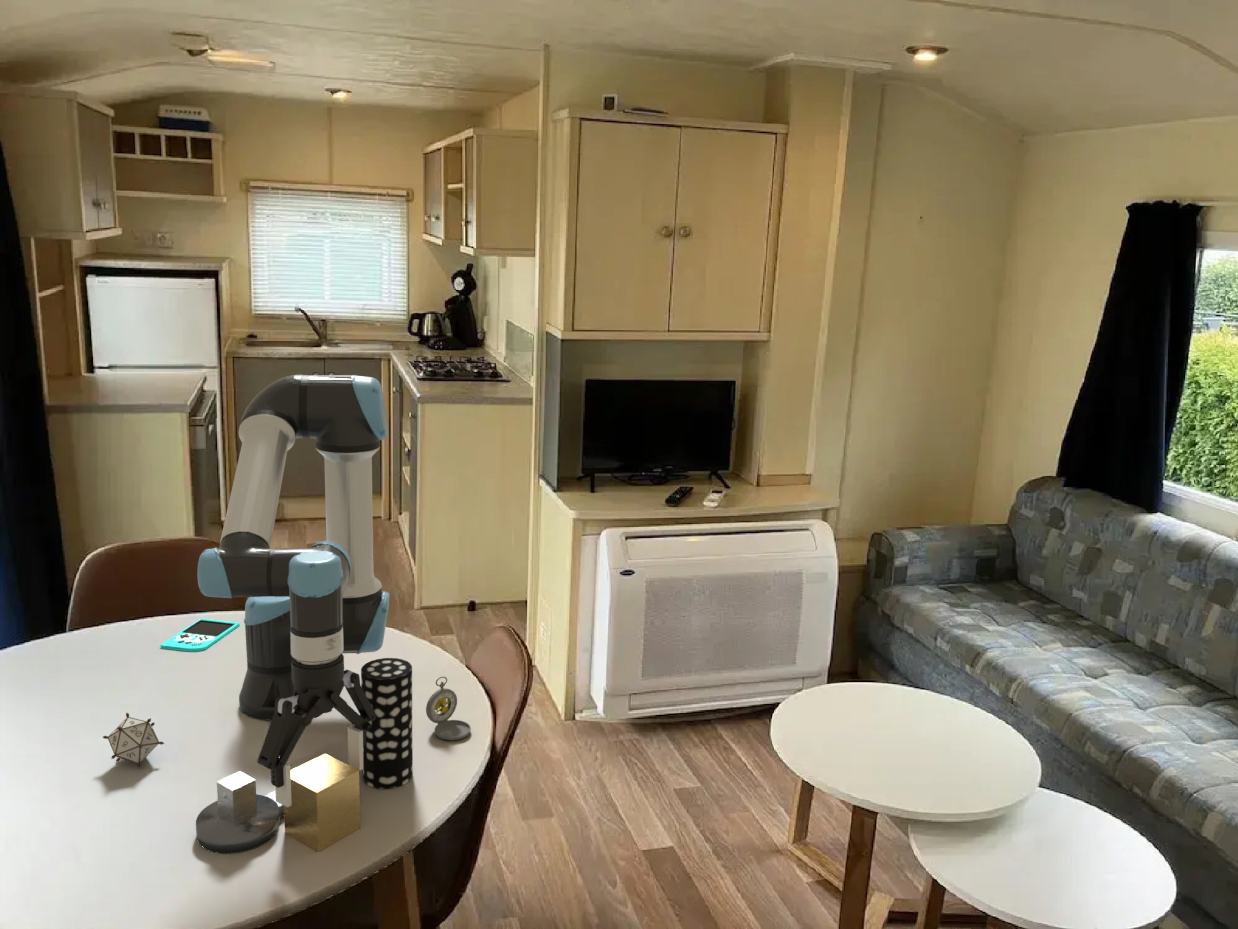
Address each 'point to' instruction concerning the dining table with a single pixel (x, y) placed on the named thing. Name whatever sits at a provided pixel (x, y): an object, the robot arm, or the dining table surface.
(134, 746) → the game die
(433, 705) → the pocket watch
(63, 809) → the dining table surface
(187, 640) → the handheld game console
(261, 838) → the grey handled disc
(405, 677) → the white-spotted black cylinder
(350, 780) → the golden tan block
